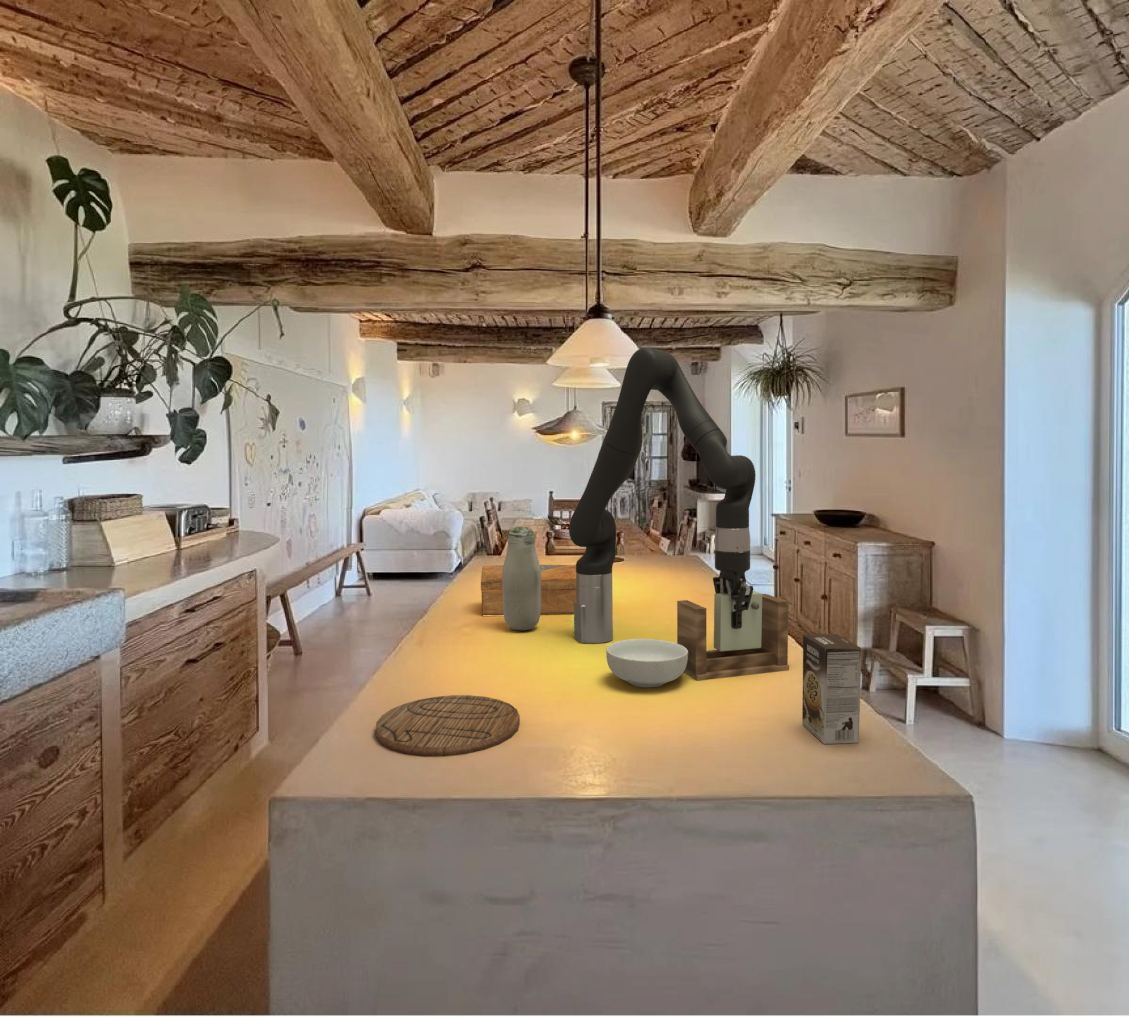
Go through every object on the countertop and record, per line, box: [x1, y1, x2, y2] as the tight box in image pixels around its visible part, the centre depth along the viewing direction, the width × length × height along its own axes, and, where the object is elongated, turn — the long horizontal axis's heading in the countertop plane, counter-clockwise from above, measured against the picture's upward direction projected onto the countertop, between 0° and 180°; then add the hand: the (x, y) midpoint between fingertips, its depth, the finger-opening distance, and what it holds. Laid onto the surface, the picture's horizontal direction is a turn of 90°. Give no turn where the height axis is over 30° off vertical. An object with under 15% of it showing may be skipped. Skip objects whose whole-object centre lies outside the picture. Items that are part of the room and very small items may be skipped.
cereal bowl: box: [605, 638, 688, 688], centre depth 155 cm, size 17×17×7 cm
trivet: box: [375, 694, 521, 757], centre depth 131 cm, size 25×25×2 cm
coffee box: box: [801, 633, 862, 745], centre depth 125 cm, size 9×6×16 cm
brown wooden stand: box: [676, 593, 790, 682], centre depth 162 cm, size 22×10×15 cm, turn 107°
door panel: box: [713, 590, 763, 651], centre depth 162 cm, size 10×4×12 cm, turn 107°
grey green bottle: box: [502, 526, 541, 632], centre depth 200 cm, size 10×10×28 cm
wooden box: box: [480, 564, 576, 616], centre depth 224 cm, size 30×16×14 cm, turn 90°
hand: (732, 626), depth 162 cm, fingers closed on door panel, 3 cm apart
